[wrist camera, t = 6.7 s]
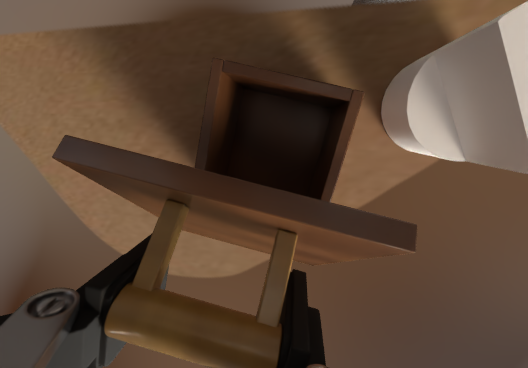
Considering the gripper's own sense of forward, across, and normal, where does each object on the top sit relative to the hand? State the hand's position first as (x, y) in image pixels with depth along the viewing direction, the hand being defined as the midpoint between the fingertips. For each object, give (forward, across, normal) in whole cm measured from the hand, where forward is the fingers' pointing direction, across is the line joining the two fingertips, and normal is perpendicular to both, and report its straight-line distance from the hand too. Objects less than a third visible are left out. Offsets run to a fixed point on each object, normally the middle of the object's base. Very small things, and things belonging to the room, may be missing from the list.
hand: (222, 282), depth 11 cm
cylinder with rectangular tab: (+18, -13, -12) cm, 25 cm away
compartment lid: (+3, 0, -2) cm, 4 cm away
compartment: (+18, 0, -4) cm, 18 cm away
